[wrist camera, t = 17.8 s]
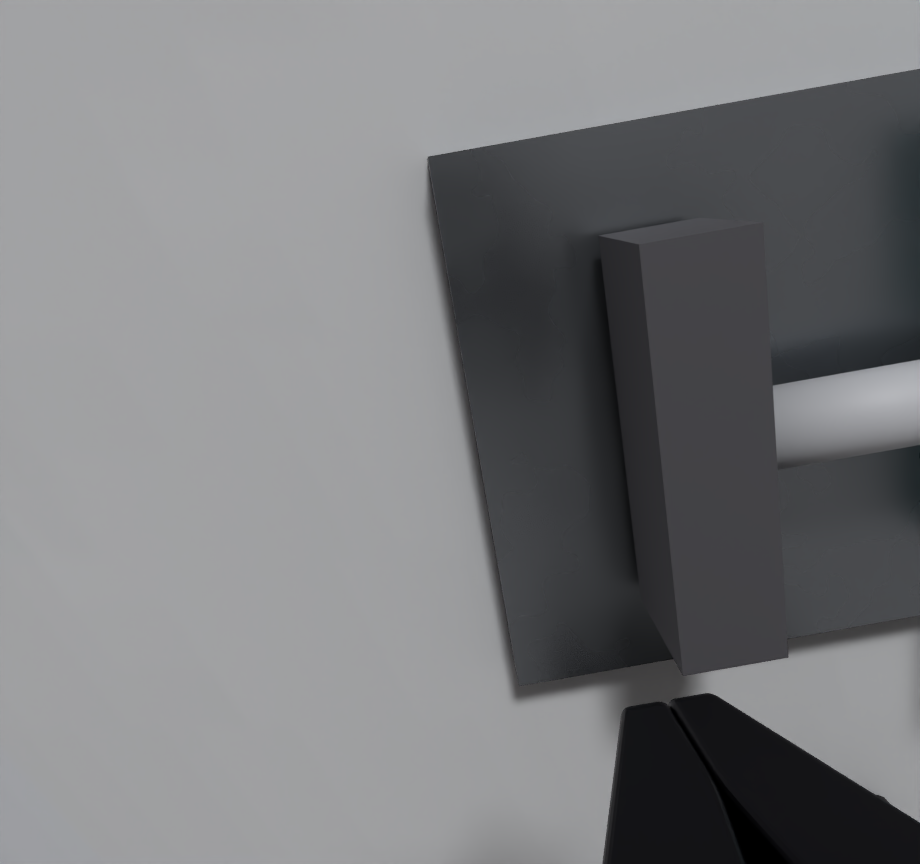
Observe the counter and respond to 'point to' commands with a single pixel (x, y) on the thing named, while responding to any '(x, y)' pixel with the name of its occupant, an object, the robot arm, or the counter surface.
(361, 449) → the counter surface
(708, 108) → the vise
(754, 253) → the vise jaw
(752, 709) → the counter surface
